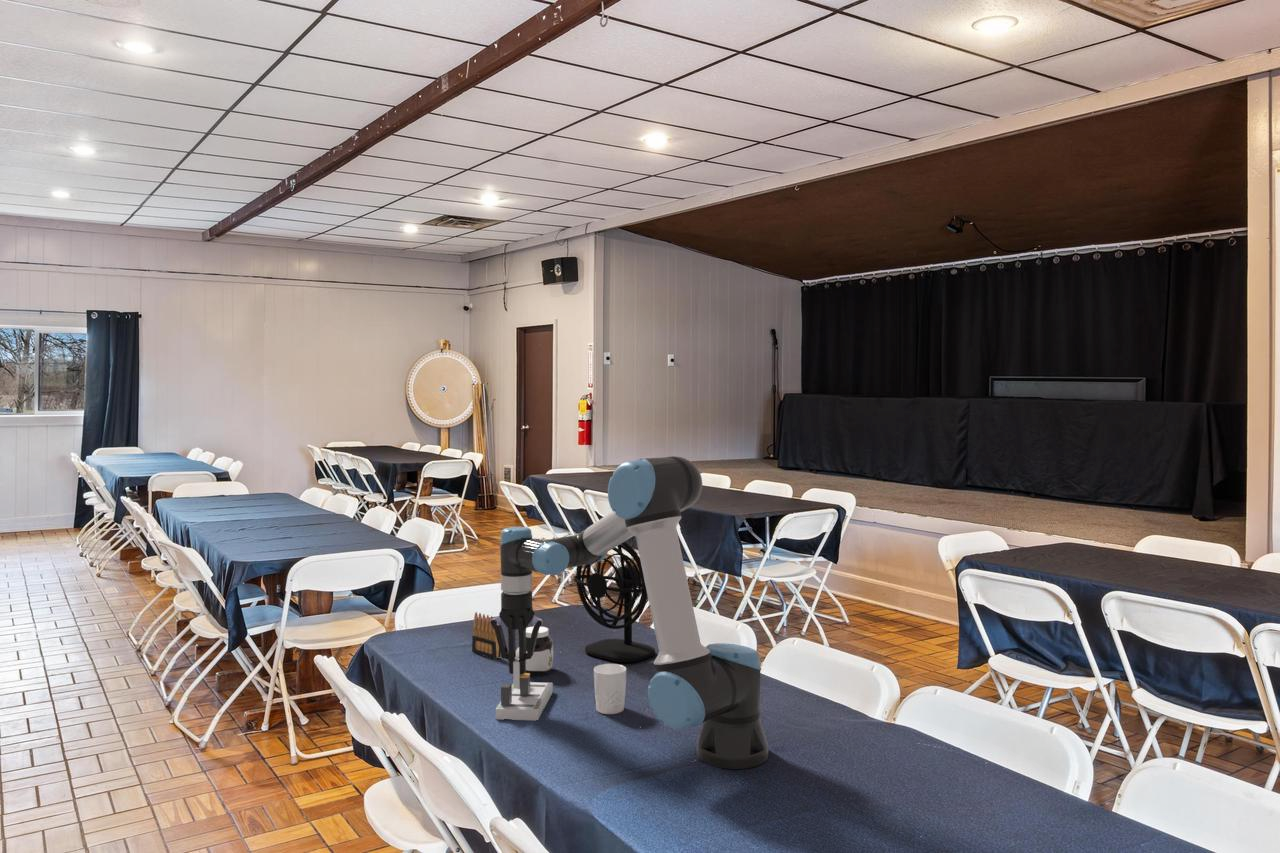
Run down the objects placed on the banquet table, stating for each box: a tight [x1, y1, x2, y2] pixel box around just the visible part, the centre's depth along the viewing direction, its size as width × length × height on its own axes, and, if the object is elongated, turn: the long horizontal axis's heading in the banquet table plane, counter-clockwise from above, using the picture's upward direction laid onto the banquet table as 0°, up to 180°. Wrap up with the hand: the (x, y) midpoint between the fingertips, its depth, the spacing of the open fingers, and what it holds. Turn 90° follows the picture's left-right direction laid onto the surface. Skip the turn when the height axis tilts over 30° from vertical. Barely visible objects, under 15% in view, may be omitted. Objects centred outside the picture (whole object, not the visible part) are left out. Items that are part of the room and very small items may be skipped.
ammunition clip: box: [471, 611, 501, 660], centre depth 261 cm, size 11×2×12 cm, turn 49°
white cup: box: [593, 663, 627, 715], centre depth 217 cm, size 8×8×10 cm
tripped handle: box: [520, 673, 531, 696], centre depth 220 cm, size 2×2×5 cm
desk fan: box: [573, 540, 656, 663], centre depth 261 cm, size 27×18×35 cm, turn 50°
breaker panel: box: [495, 681, 554, 721], centre depth 220 cm, size 19×10×3 cm, turn 175°
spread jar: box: [515, 626, 554, 677], centre depth 247 cm, size 12×11×12 cm
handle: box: [500, 683, 513, 706], centre depth 213 cm, size 2×2×4 cm
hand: (517, 686), depth 220 cm, fingers closed
